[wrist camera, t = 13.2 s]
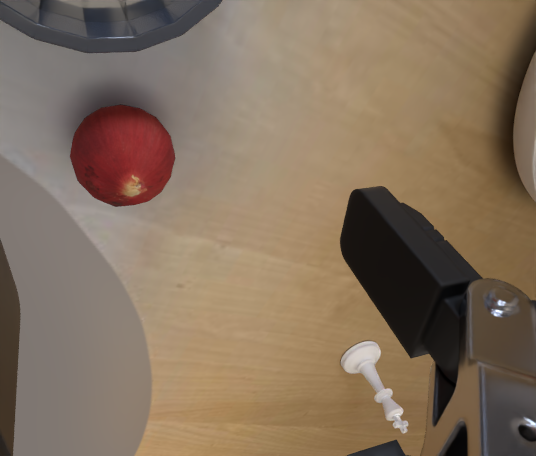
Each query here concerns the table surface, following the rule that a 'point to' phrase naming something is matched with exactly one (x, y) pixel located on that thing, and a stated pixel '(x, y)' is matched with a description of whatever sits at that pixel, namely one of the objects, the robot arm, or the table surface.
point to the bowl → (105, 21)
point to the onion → (122, 155)
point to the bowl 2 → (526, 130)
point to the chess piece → (373, 378)
